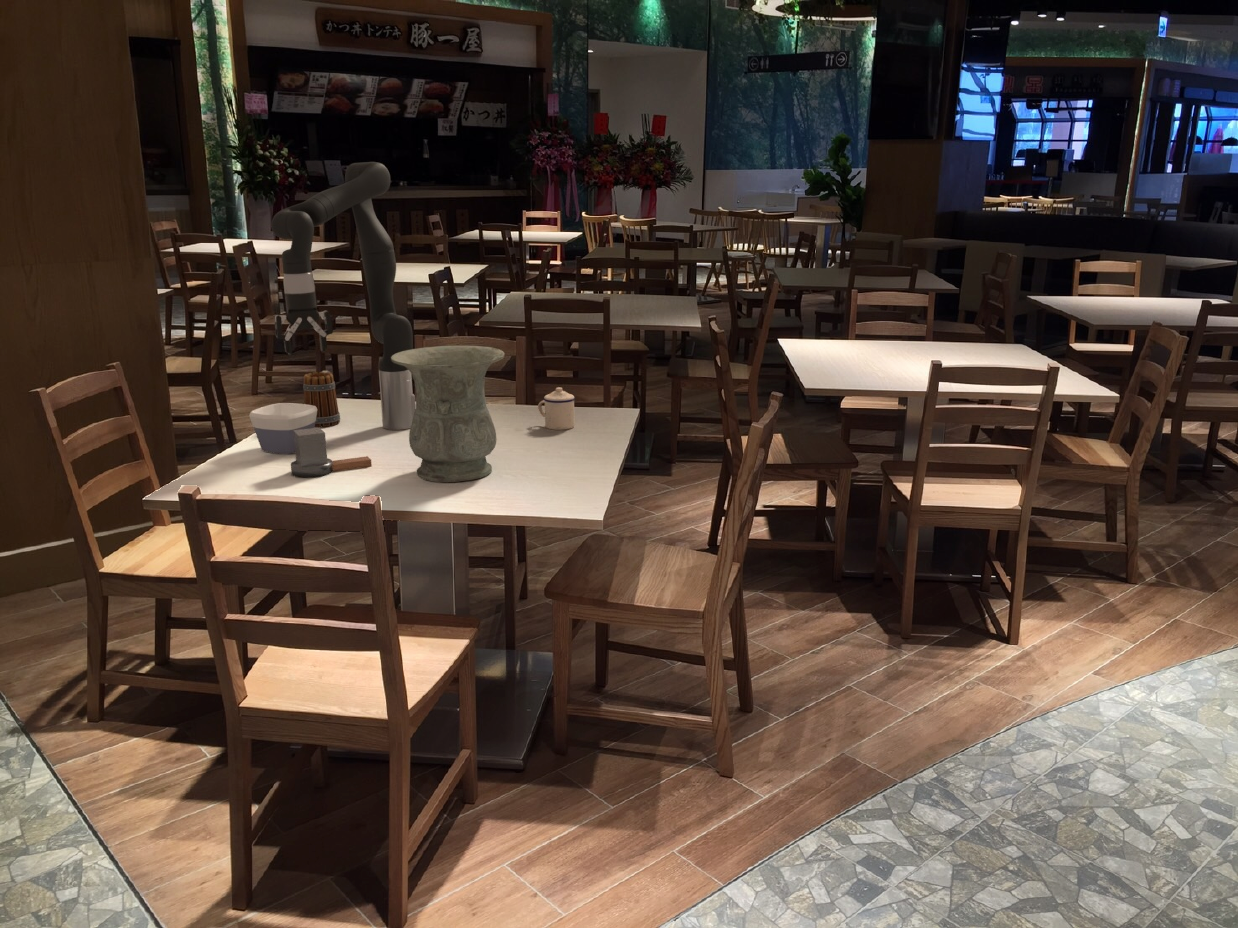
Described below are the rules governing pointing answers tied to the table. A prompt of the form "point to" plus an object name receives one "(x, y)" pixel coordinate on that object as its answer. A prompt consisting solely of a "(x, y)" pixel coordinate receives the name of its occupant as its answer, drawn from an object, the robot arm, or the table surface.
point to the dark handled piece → (329, 467)
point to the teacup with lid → (558, 410)
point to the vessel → (451, 411)
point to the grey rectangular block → (310, 447)
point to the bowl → (281, 425)
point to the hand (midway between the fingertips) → (306, 352)
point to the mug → (322, 398)
